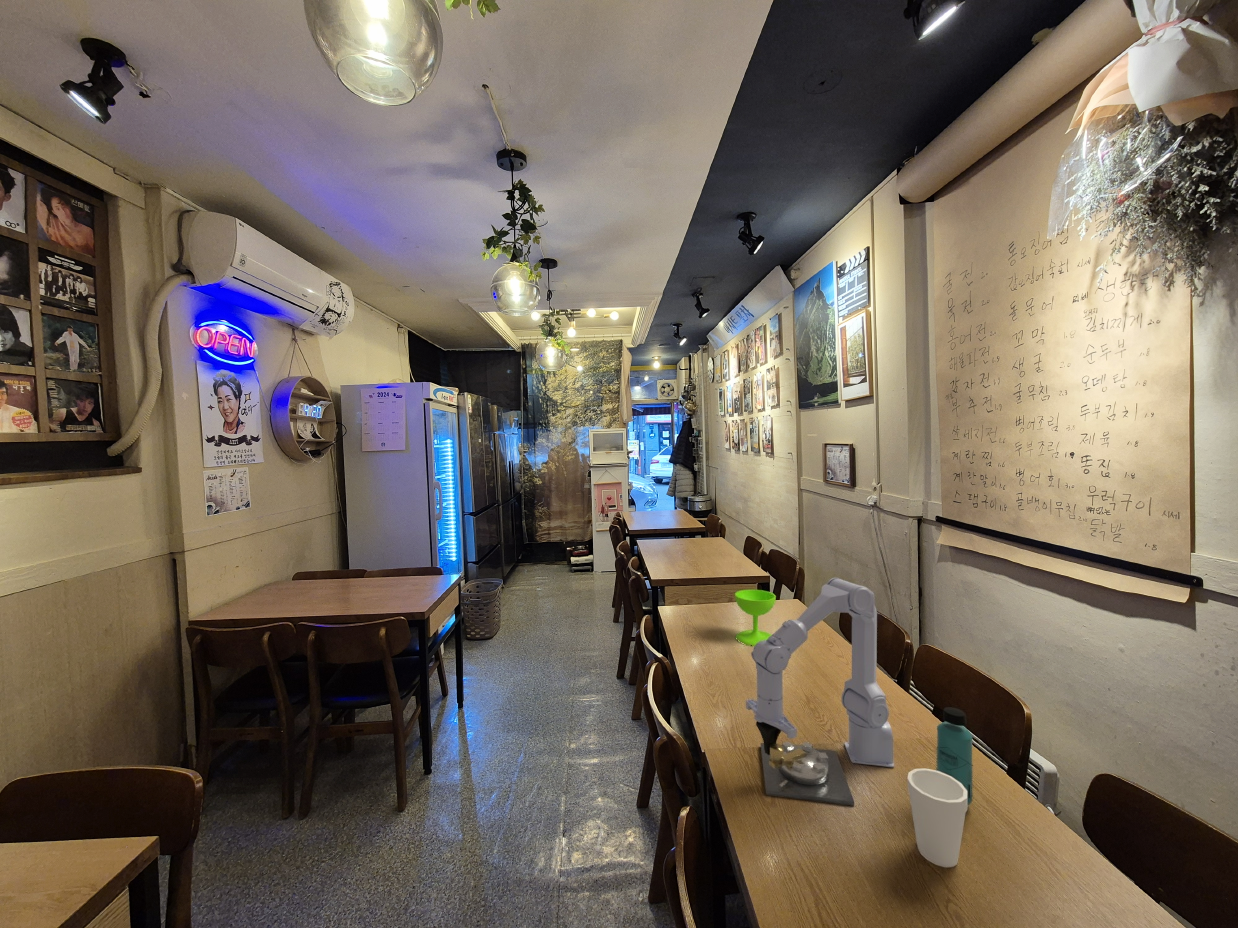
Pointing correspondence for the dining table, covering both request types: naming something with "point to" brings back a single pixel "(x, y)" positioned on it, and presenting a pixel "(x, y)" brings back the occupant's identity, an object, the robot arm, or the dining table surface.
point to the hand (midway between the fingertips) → (770, 752)
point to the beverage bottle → (955, 749)
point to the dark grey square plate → (826, 792)
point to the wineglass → (754, 613)
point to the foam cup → (937, 814)
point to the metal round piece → (800, 762)
